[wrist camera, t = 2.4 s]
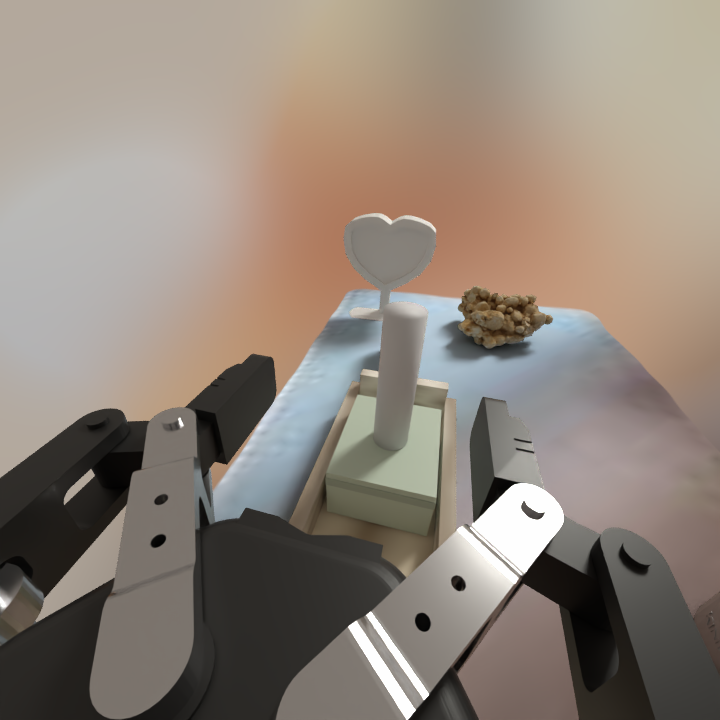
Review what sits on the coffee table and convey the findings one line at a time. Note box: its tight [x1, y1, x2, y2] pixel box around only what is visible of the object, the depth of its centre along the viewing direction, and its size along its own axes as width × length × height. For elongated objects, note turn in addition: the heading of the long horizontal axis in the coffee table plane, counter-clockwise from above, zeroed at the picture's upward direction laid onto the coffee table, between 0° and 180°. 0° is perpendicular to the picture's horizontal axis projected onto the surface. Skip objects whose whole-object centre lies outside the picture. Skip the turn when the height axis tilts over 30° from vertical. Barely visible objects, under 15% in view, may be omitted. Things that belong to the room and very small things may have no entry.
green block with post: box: [325, 302, 441, 536], centre depth 27 cm, size 8×10×17 cm
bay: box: [289, 369, 456, 578], centre depth 25 cm, size 12×34×6 cm, turn 166°
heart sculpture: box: [344, 213, 436, 321], centre depth 60 cm, size 16×5×18 cm, turn 80°
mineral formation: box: [458, 286, 553, 349], centre depth 57 cm, size 8×13×15 cm
